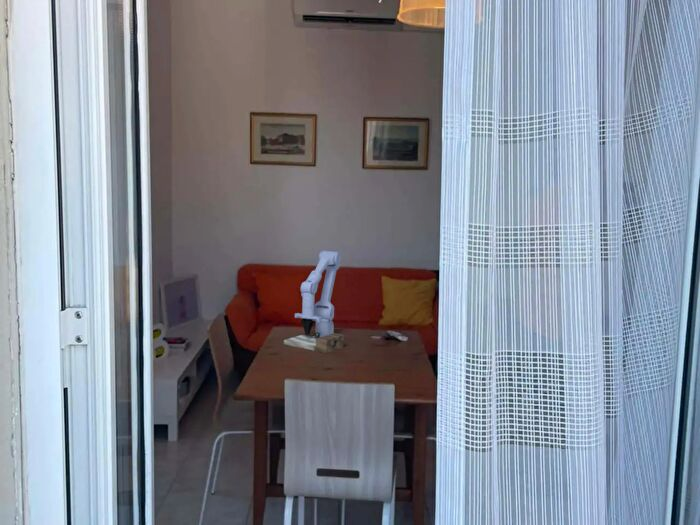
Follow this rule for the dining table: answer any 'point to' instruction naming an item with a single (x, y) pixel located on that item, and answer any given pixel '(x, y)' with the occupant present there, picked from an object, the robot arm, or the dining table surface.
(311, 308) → the robot arm
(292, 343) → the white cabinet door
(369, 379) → the dining table surface
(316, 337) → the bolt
